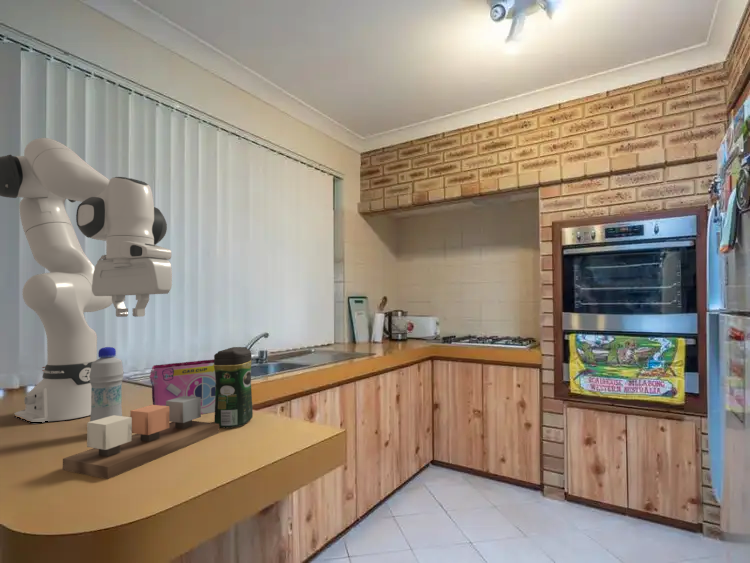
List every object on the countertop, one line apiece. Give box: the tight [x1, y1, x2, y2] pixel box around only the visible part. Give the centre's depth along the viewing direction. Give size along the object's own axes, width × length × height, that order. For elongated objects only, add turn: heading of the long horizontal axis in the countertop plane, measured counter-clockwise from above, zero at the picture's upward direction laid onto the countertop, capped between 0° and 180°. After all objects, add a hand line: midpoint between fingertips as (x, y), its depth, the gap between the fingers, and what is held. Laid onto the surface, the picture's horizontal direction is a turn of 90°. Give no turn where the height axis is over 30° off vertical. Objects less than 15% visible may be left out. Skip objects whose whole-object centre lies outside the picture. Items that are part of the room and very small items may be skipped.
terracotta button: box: [129, 404, 170, 435], centre depth 84 cm, size 5×5×4 cm
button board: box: [62, 420, 220, 480], centre depth 84 cm, size 12×26×6 cm, turn 158°
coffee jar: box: [213, 346, 254, 429], centre depth 101 cm, size 10×8×19 cm
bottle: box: [89, 346, 124, 422], centre depth 95 cm, size 7×7×20 cm
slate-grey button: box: [166, 396, 202, 423], centre depth 92 cm, size 5×5×4 cm
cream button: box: [86, 415, 133, 450], centre depth 76 cm, size 5×5×4 cm
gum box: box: [148, 358, 216, 415], centre depth 113 cm, size 24×8×14 cm, turn 127°
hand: (130, 316), depth 87 cm, fingers open, 4 cm apart
